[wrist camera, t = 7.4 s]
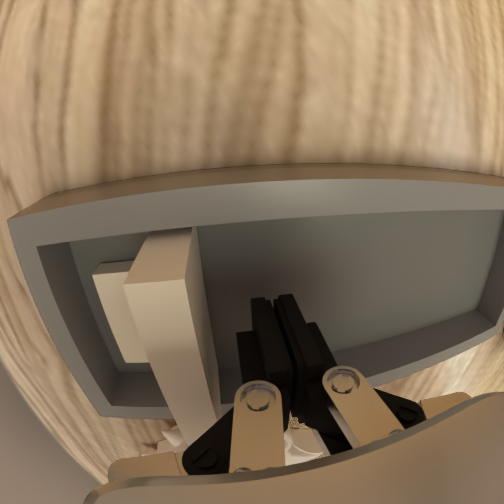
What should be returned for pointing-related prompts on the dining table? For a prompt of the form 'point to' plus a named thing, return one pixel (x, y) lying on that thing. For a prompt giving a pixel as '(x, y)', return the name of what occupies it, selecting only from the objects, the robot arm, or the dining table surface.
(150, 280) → the plate
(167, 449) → the knuckle duster
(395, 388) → the dining table surface
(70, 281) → the grey rectangular tray
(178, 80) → the dining table surface
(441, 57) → the dining table surface
